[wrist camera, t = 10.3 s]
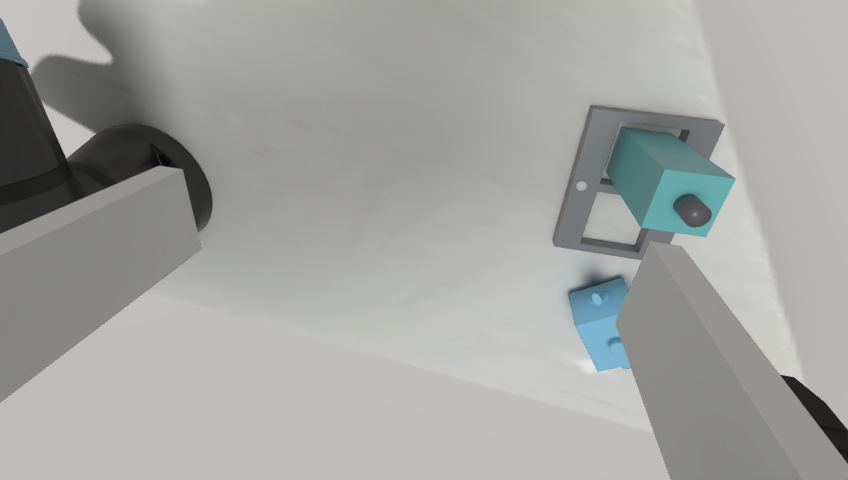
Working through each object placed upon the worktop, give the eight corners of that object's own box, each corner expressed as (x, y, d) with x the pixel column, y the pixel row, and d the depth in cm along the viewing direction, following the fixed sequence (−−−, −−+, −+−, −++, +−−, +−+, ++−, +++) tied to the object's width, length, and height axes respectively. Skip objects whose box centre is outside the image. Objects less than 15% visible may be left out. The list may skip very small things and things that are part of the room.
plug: (606, 172, 39) (649, 240, 27) (621, 127, 37) (675, 179, 25) (653, 178, 39) (718, 251, 27) (671, 133, 37) (751, 190, 25)
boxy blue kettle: (556, 267, 46) (564, 308, 39) (610, 248, 43) (628, 289, 37) (591, 340, 50) (604, 389, 43) (643, 328, 48) (664, 376, 41)
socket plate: (552, 239, 44) (554, 247, 42) (590, 105, 37) (594, 109, 35) (656, 255, 43) (661, 264, 41) (717, 120, 35) (726, 125, 34)
